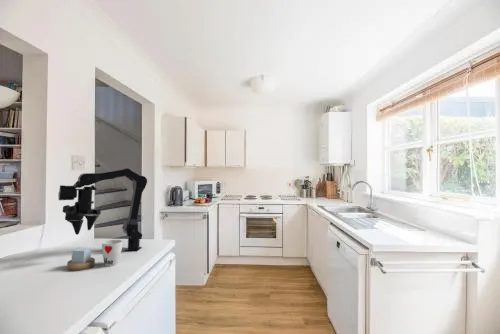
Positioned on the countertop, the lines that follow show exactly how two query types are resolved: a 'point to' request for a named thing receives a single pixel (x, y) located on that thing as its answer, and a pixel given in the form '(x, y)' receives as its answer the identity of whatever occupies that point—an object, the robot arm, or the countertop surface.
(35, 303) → the countertop surface
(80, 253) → the block
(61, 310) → the countertop surface
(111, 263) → the cup
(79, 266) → the brown shallow bowl
